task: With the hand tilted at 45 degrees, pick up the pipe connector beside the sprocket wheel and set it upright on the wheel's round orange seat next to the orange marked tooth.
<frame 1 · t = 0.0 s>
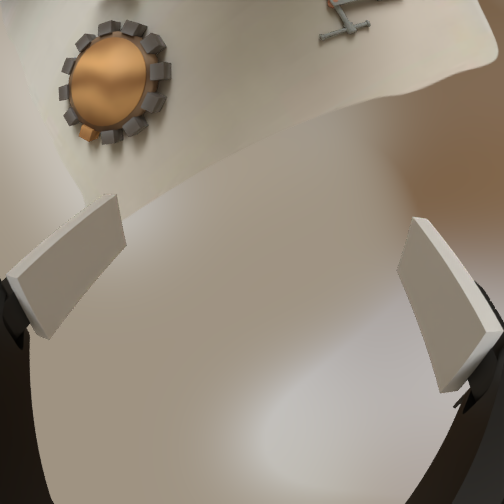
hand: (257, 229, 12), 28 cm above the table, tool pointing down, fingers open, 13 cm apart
sprocket wheel: (113, 80, 33), on the table
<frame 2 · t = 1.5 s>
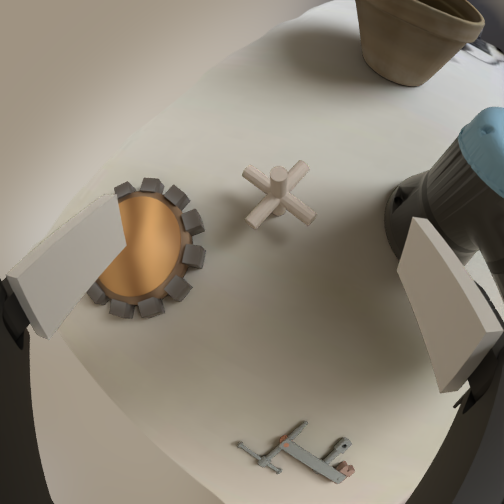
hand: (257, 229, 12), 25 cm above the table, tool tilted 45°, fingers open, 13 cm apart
pipe connector: (278, 210, 38), on the table
plant pot: (394, 64, 44), on the table
sprocket wheel: (139, 248, 39), on the table
clamp: (303, 449, 31), on the table
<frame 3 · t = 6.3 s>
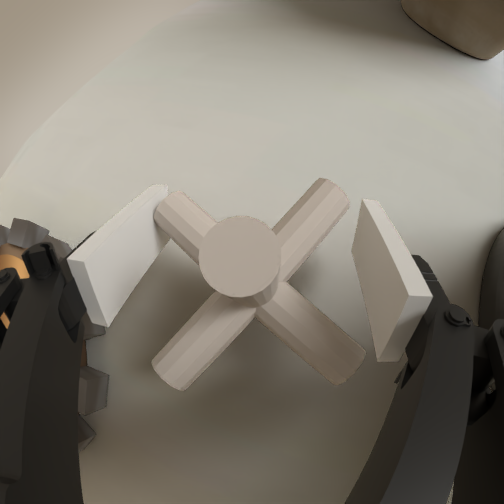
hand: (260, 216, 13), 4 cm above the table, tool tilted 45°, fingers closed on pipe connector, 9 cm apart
pipe connector: (260, 296, 16), on the table, touching gripper
plant pot: (446, 26, 22), on the table
sprocket wheel: (19, 343, 16), on the table
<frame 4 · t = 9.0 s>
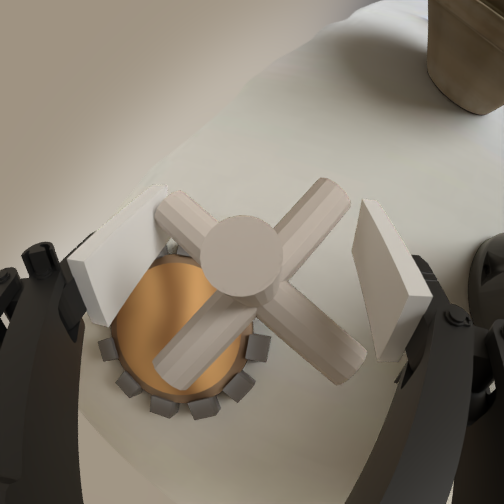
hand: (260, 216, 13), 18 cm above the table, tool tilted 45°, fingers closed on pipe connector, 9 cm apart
pipe connector: (261, 296, 16), point 14 cm above the table, touching gripper
plant pot: (458, 84, 34), on the table
sprocket wheel: (180, 329, 30), on the table
when the fingers open (8 cm above the table, at t = 12.1 s): pipe connector drops 1 cm, resting on sprocket wheel.
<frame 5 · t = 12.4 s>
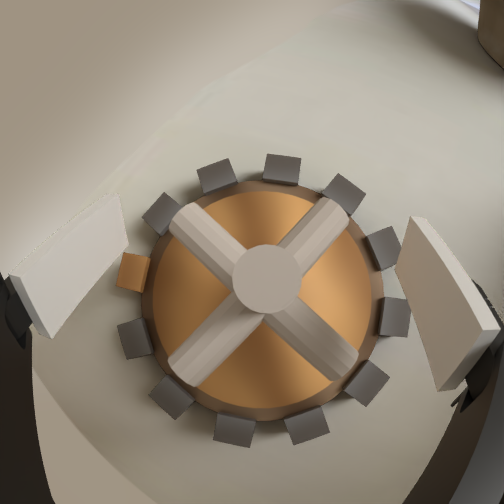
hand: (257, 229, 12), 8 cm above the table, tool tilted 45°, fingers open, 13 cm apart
pipe connector: (260, 298, 17), point 2 cm above the table, touching sprocket wheel
sprocket wheel: (261, 300, 20), on the table
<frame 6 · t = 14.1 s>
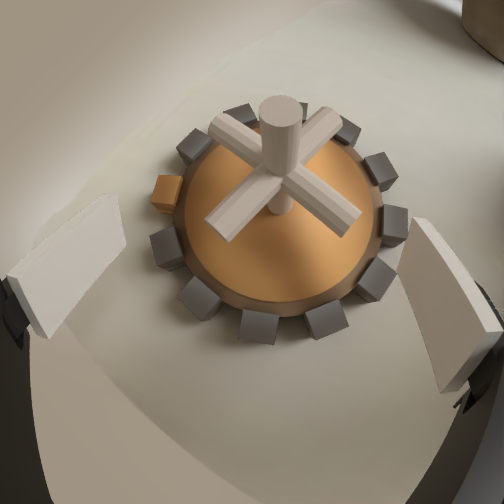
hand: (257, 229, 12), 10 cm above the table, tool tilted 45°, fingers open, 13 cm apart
pipe connector: (279, 204, 21), point 2 cm above the table, touching sprocket wheel
plant pot: (489, 42, 28), on the table
sprocket wheel: (279, 213, 23), on the table
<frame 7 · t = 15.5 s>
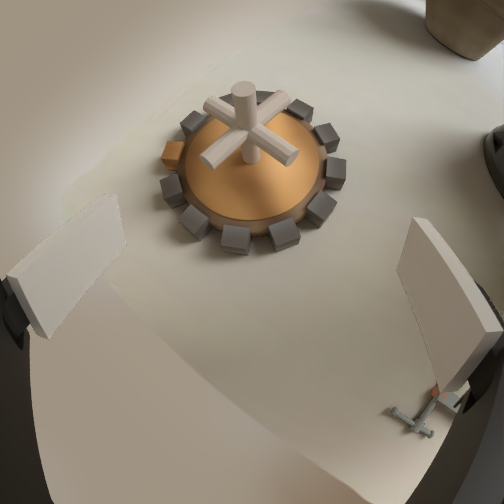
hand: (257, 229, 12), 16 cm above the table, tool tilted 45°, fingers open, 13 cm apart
pipe connector: (251, 157, 29), point 2 cm above the table, touching sprocket wheel
plant pot: (451, 40, 37), on the table
sprocket wheel: (252, 167, 31), on the table
clamp: (449, 401, 23), on the table
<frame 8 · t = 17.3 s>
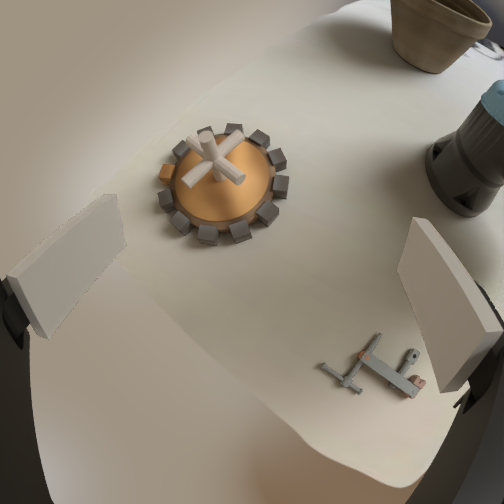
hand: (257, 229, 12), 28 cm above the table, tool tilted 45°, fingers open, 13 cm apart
pipe connector: (221, 176, 41), point 2 cm above the table, touching sprocket wheel
plant pot: (418, 55, 48), on the table
sprocket wheel: (223, 183, 43), on the table
clamp: (378, 366, 35), on the table
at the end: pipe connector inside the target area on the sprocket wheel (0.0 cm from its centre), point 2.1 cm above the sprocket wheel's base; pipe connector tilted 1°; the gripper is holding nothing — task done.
